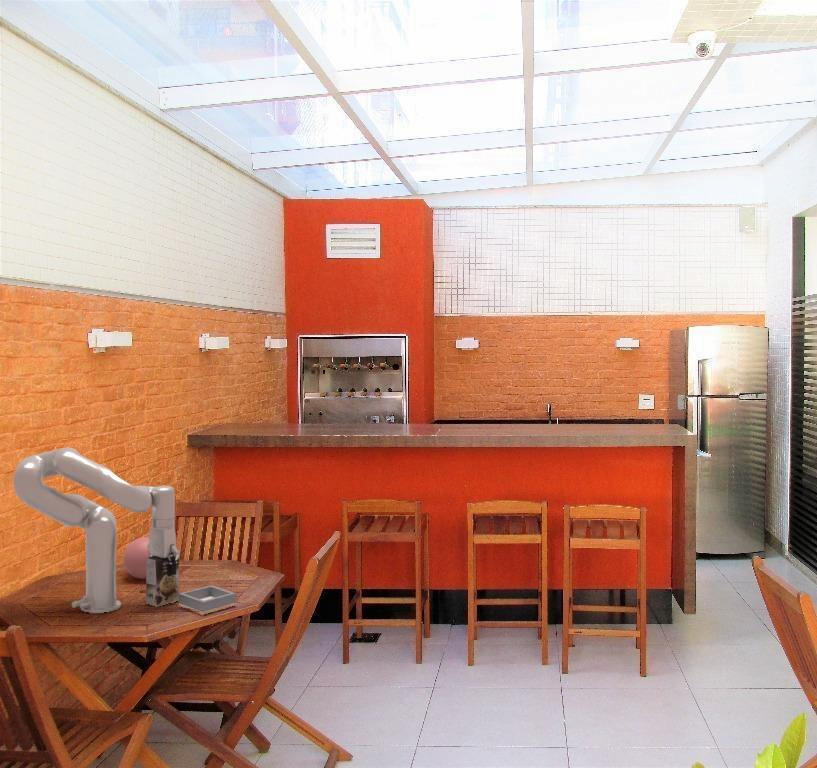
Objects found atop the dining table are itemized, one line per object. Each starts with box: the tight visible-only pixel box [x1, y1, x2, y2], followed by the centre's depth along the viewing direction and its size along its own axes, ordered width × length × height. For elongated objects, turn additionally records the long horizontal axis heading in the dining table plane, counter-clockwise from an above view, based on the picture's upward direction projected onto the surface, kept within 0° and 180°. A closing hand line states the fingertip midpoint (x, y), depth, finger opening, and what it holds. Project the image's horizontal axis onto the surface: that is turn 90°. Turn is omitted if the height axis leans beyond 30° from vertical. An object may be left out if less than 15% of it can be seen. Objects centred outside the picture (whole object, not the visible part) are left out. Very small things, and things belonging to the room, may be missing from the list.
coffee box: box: [145, 556, 180, 607], centre depth 292 cm, size 9×6×16 cm
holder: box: [178, 584, 237, 612], centre depth 289 cm, size 13×13×4 cm
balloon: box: [122, 536, 150, 580], centre depth 322 cm, size 15×20×15 cm
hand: (163, 572), depth 291 cm, fingers open, 9 cm apart
